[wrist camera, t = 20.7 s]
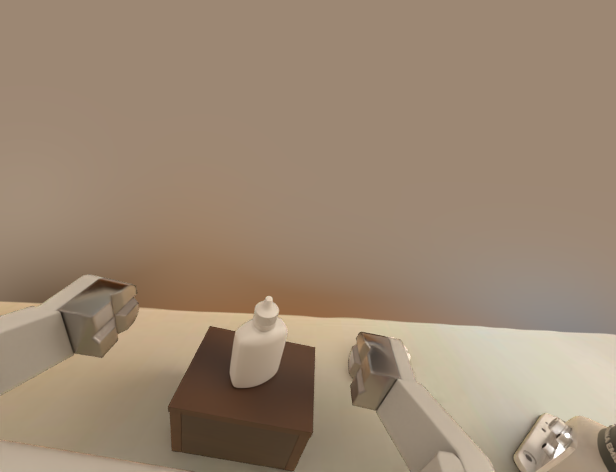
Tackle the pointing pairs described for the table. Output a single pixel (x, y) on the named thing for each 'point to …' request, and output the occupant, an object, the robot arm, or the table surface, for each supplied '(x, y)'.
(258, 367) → the eye dropper bottle
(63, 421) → the table surface
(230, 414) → the desk shelf
